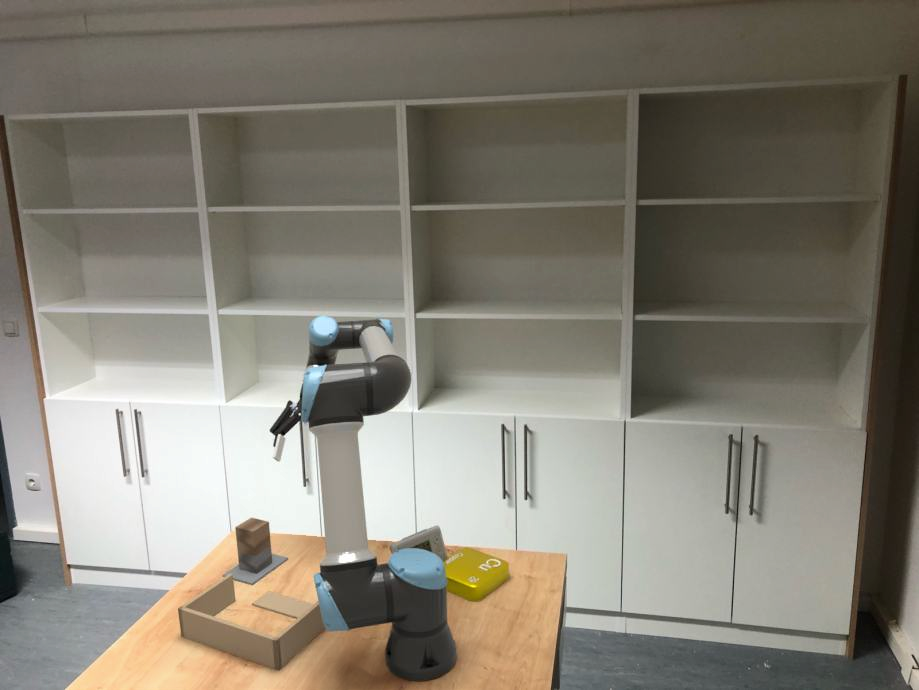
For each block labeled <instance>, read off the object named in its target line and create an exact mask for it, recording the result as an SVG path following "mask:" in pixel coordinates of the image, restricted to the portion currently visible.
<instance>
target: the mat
mask: <svg viewBox="0 0 919 690" xmlns="http://www.w3.org/2000/svg"><path fill="white" fill-rule="evenodd" d="M288 560H289V557H288V556H287V557H286V556H284V555H279V554H276V553H275V554H274V553H272V564H270V565H269V566H268V567H266V568H265V569H263V570H262V571H260V572H259V573H258V574H255V573H252V572H248V571H245V570H241V569H239V563H238V564H237V565H235V566H234V567H232V568H231V569H229V570H228V571H226V572H225V573H223V574H222V578H224V577H226V576H227V575H229V574H233V581H237V582H241V583H244V584H247V585H250V586H253V585H255V584H257V582H260V580H261V579H264V577H265V576H268V574H270V573H271V572H273V571H275V570H276V569H277V568H278V567H280V566H281V565H283V564H284V563H285V562H287V561H288Z"/></svg>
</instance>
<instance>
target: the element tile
mask: <svg viewBox="0 0 919 690" xmlns="http://www.w3.org/2000/svg"><path fill="white" fill-rule="evenodd" d="M447 557H448V558H447V559H445V560H443V563H444V565H445V571H446V578H447V585H446V592H447V593H451V594H453V595H456V596H458V597H460V598H463V599H465V600H467V601H470V602H474V603H475V602H480V601H482V600H483V599H485V598H486V597H487V596H489V595H490V594H491V593H492V592H494V591H496V590H497V589H498V588H500V586H502V585H503V584H505V583H506V582H507V581H508V580H509V577H510V565H509V562H508V561H507V560H504V559H501V558H499V557H497V556H494V555H491V554H489V553H485V552H482V551H480V550H477V549H474V548H472V547H468V546H467V547H462V548H460V549H459V550H458V551H456V552H454V553H453V554H451V555H450V556H447Z"/></svg>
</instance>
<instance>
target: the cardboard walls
mask: <svg viewBox="0 0 919 690" xmlns="http://www.w3.org/2000/svg"><path fill="white" fill-rule="evenodd" d="M235 602H236V593H235V580H233V574H229V575H227V576H226V577H222V578H221V579H220V580H219V581H217V582H215V583H213V584H211V586H209V587H208V588H206V589H205V590H203V591H202V592H200V593H199V594H197V595H196V596H194V597H192V598H191V599H190V600H188V601H187V602H185V603H184V604H182V605H181V606H180V607H178V608H177V611H178V612H177V613H178V621H179V629H180V636H181V637H182V638H185V639H188V640H191V641H193V642H197V643H199V644H202V645H205V646H208V647H210V648H213V649H217V650H219V651H223V652H225V653H227V654H231V655H233V656H237V657H240V658H242V659H245V660H248V661H251V662H253V663H256V664H258V665H259V664H260V665H262V666H264V667H268V668H270V669H274V670H275V671H276V670H277V671H280V670H281V669H282V668H284V666H285V665H287V663H289V662H290V661H291V660H293V658H294V657H295V656H296V655H298V654H299V653H300V652H301V651H302V650H303V649H304V648H305V647H307V645H309V643H311V642H312V641H313V640H314V639H315V638H316V637H317V636H319V634H320V633H321V632H323V631H324V630H325V629H326V628H325V627H324V624H323V620H322V615H321V610H320V606H319V601H316V602H315V603H311V602H308V601H305V600H301V599H297V598H294V597H292V596H288V595H284V594H281V593H278V592H274V591H270V590H268V591H266V592H265V593H263V594H262V595H261V596H259V597H258V598H257V599H256V600H254V601H253V602H252V603H251V606H255V607H258V608H261V609H265V610H268V611H271V612H275V613H277V614H281V615H284V616H288V617H290V618H294V619H295V620H293V622H292V623H290V624H289V625H287V627H285V628H284V629H283V630H282V631H281V632H279V633H278V634H277V635H276V636H275V635H271V634H268V633H266V632H262V631H259V630H256V629H253V628H250V627H246V626H243V625H241V624H237V623H235V622H231V621H228V620H226V619H225V620H224V619H222V618H219V617H216V615H217V614H219V613H220V612H221V611H223V610H224V609H226V608H227V607H228V606H230V605H231V604H233V603H235Z"/></svg>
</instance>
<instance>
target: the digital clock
mask: <svg viewBox="0 0 919 690" xmlns="http://www.w3.org/2000/svg"><path fill="white" fill-rule="evenodd" d="M408 548H417V549H423V550H427V551H429V552H432V553H434V554H436V555H437V556H438V557H440V558H441V560H442V561H443V560H445V559H447V558H448V557H449V556H448V553H447V549H446V546H445V541H444V537H443V533H442V531H441V527H440V526H439V525H433V526H431V527H429V528H425V529H422V530H420V531H418V532H416V533H415V532H414V533H413V534H411V535H408V536H405V537H403V538H402V539H401V540H398V541H396V542H393V543H392V544H391V545H390V546H389V549H390V554H391V555H392V554H393V553H394V552H397V551H398V550H401V549H408Z"/></svg>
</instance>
